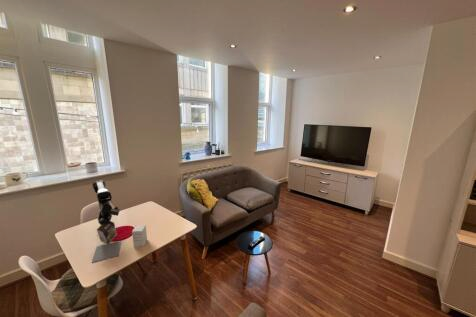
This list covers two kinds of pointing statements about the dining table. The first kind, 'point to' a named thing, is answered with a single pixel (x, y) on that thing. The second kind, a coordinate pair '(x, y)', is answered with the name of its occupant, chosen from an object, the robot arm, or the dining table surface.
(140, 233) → the supplement box
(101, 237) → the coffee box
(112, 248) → the mat
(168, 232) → the dining table surface
